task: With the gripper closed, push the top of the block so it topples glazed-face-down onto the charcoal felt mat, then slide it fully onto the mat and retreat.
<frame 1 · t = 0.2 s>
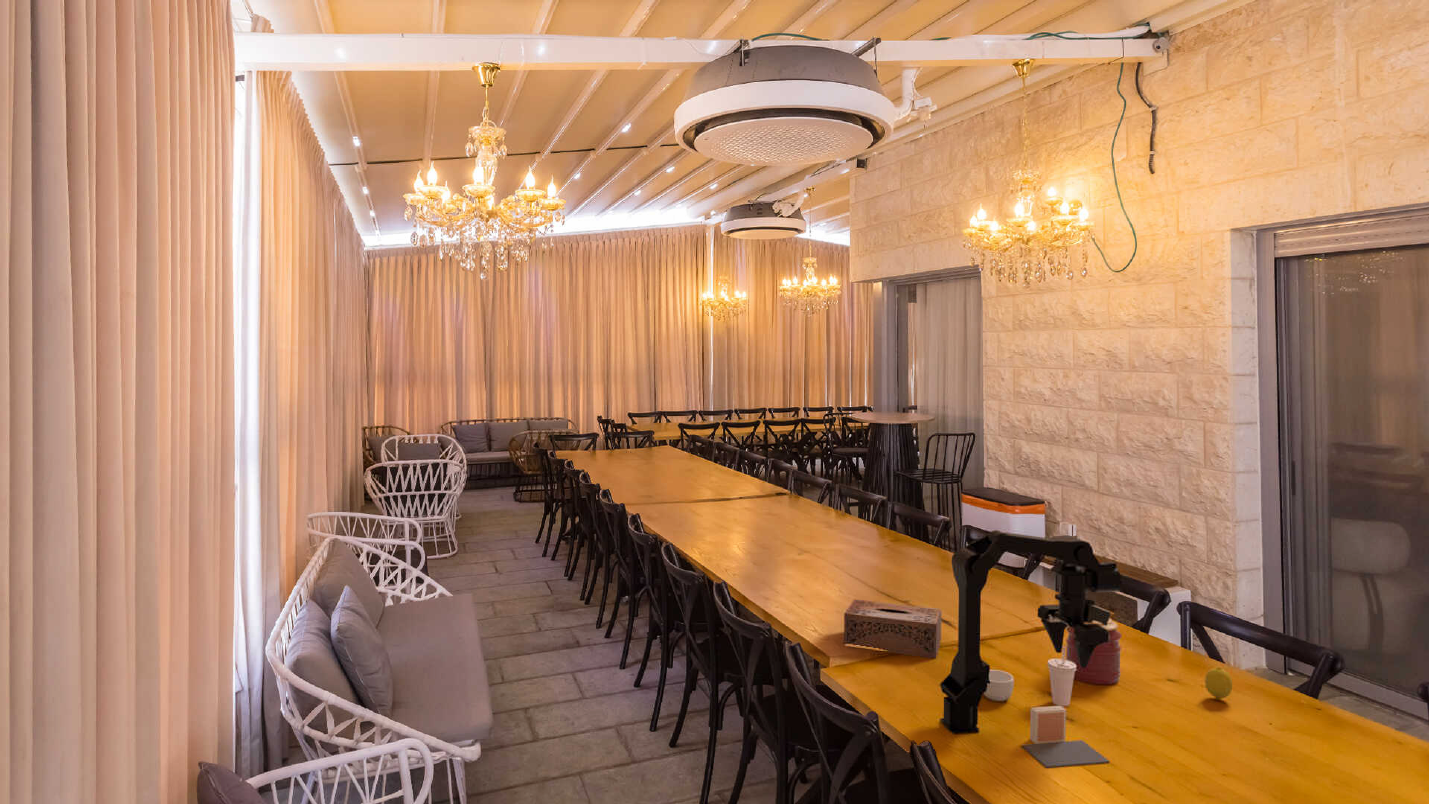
hand: (1070, 659, 177), 14 cm above the table, fingers open, 9 cm apart
block: (1047, 740, 168), on the table
lemon: (1218, 700, 188), on the table
tissue box cover: (892, 645, 226), on the table
mat: (1064, 754, 162), on the table
canister: (1092, 676, 203), on the table
teacup: (997, 696, 190), on the table
smoothie: (1061, 703, 186), on the table
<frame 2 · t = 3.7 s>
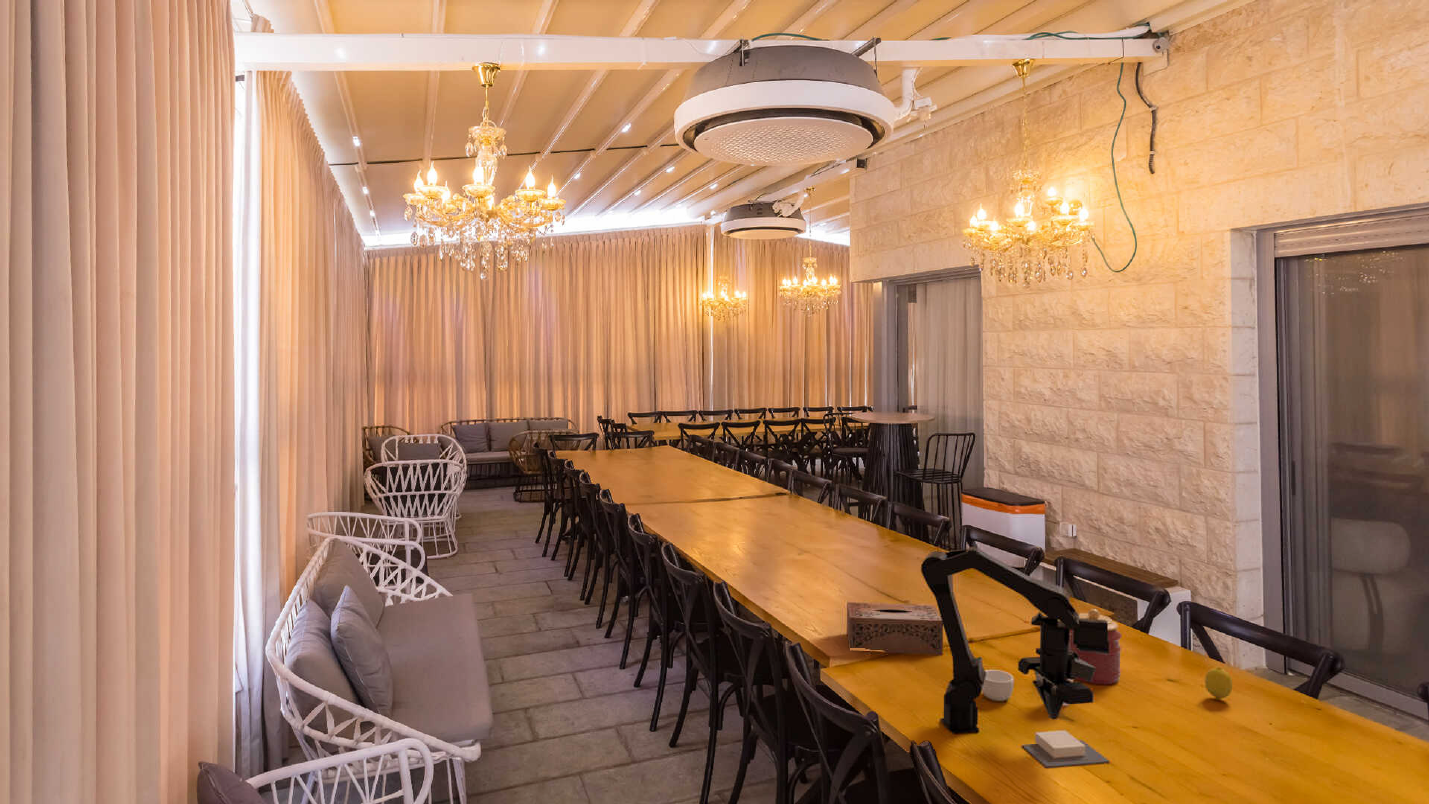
hand: (1053, 718, 166), 6 cm above the table, fingers closed
block: (1050, 736, 167), point 1 cm above the table, tilted 90°, touching mat
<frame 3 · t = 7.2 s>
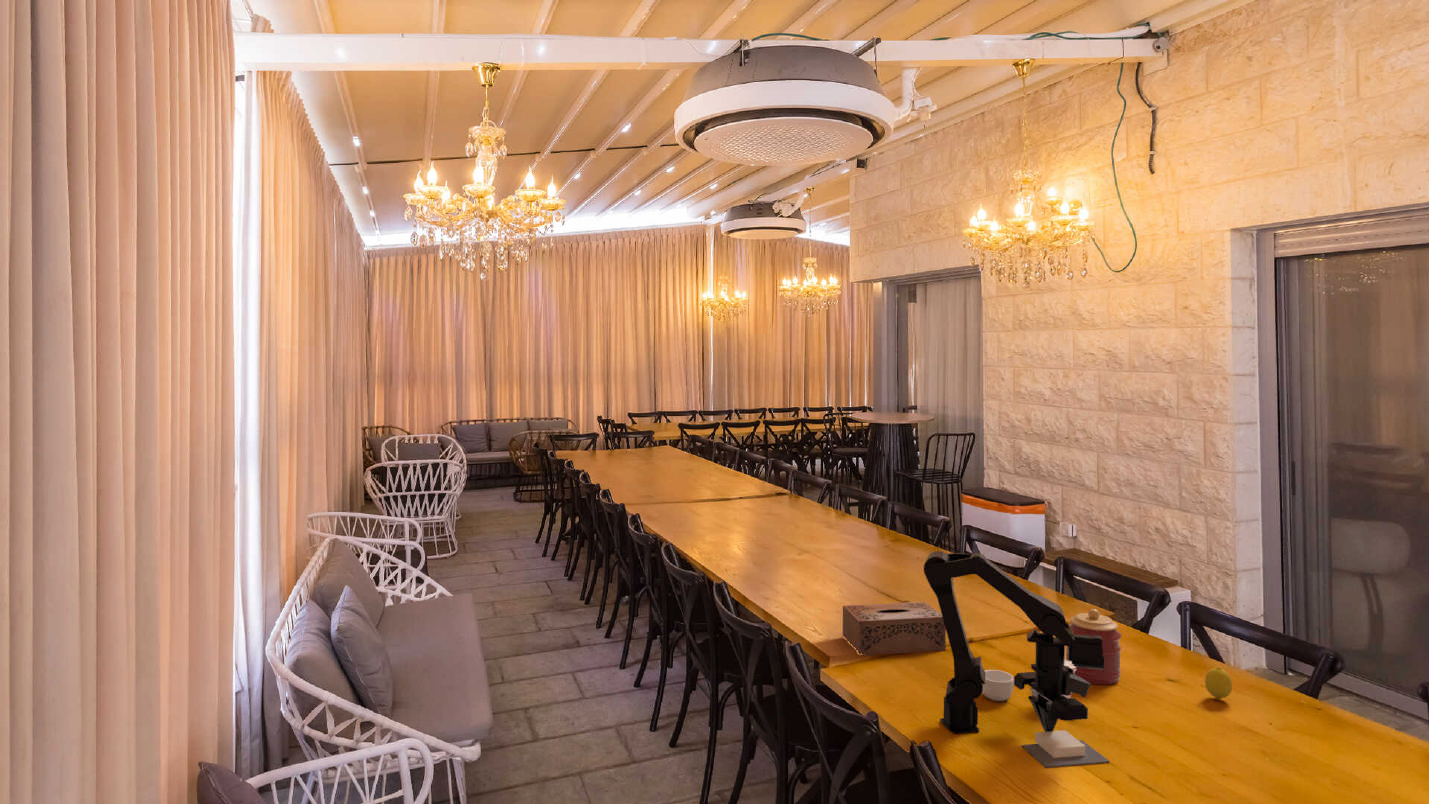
hand: (1048, 733, 167), 1 cm above the table, fingers closed
block: (1050, 736, 167), point 1 cm above the table, tilted 90°, touching gripper, mat
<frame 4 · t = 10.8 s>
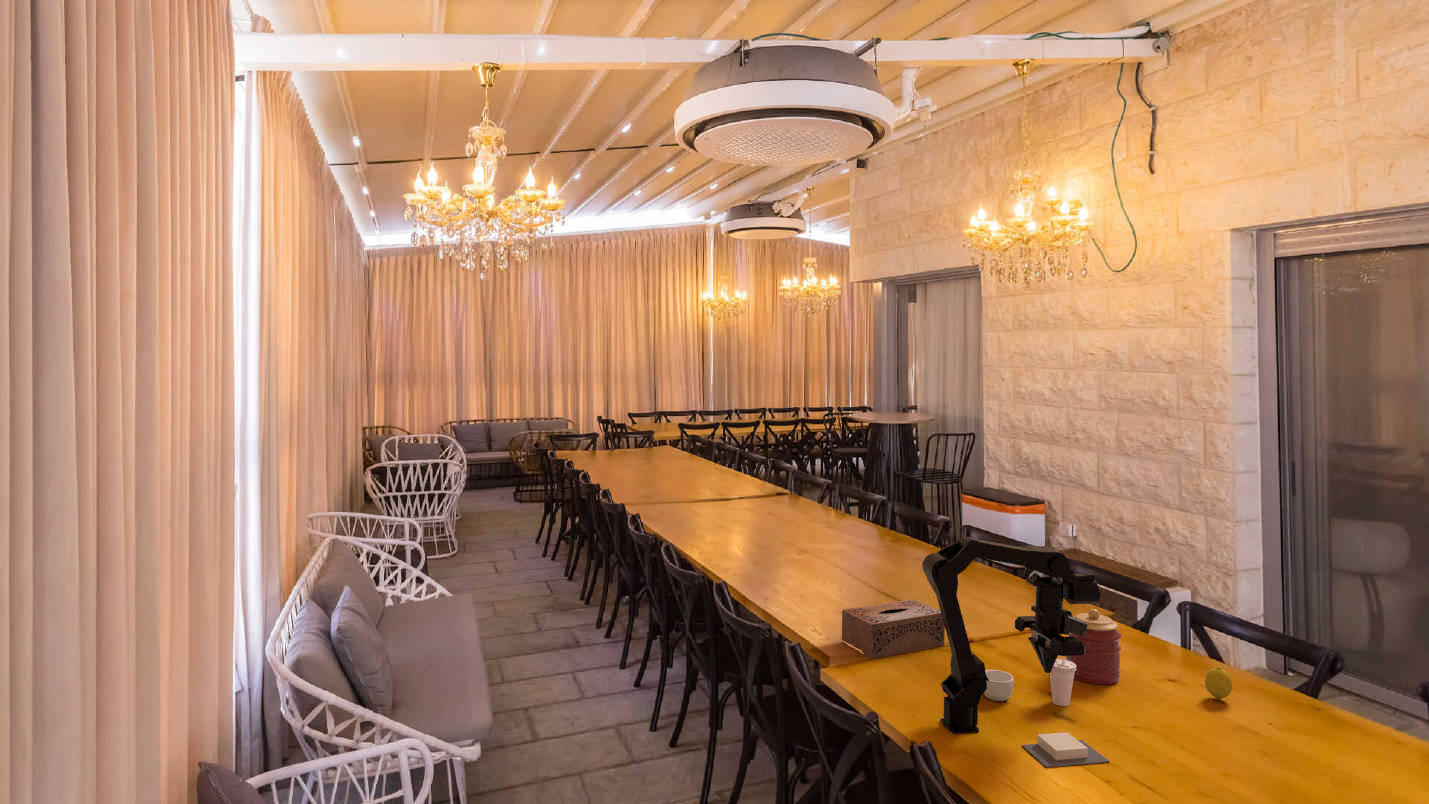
hand: (1047, 672, 174), 12 cm above the table, fingers closed
block: (1052, 738, 166), point 1 cm above the table, tilted 90°, touching mat
at the end: block tilted 90°; block inside the target area on the mat (4.2 cm from its centre), point 1.3 cm above the mat's base; block touching mat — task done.
